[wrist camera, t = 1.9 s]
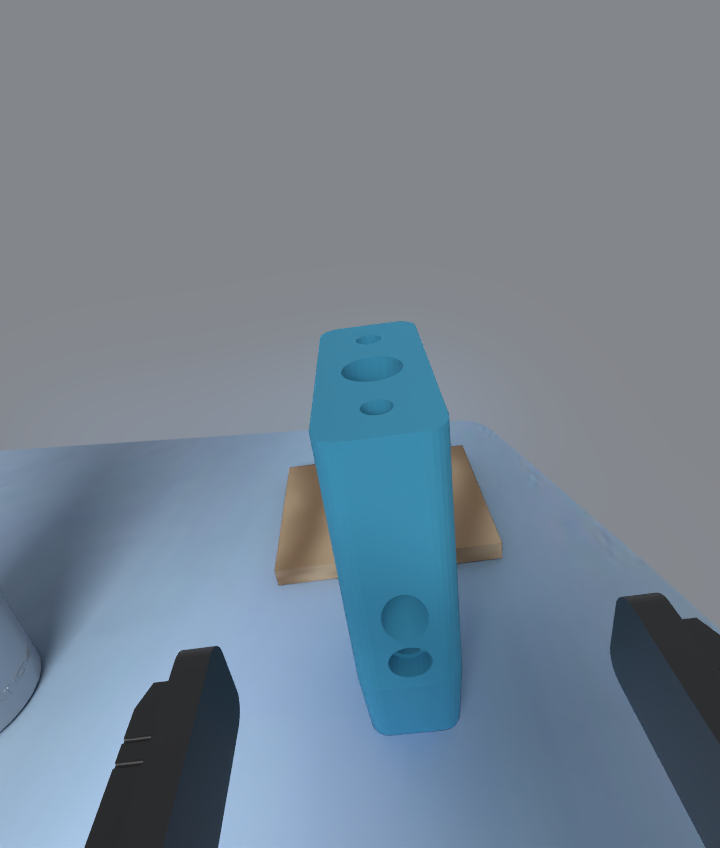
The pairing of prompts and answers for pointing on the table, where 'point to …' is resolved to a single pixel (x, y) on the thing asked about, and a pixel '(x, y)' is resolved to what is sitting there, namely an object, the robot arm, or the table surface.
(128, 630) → the table surface
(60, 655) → the table surface
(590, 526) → the table surface
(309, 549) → the oak board
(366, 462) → the block
